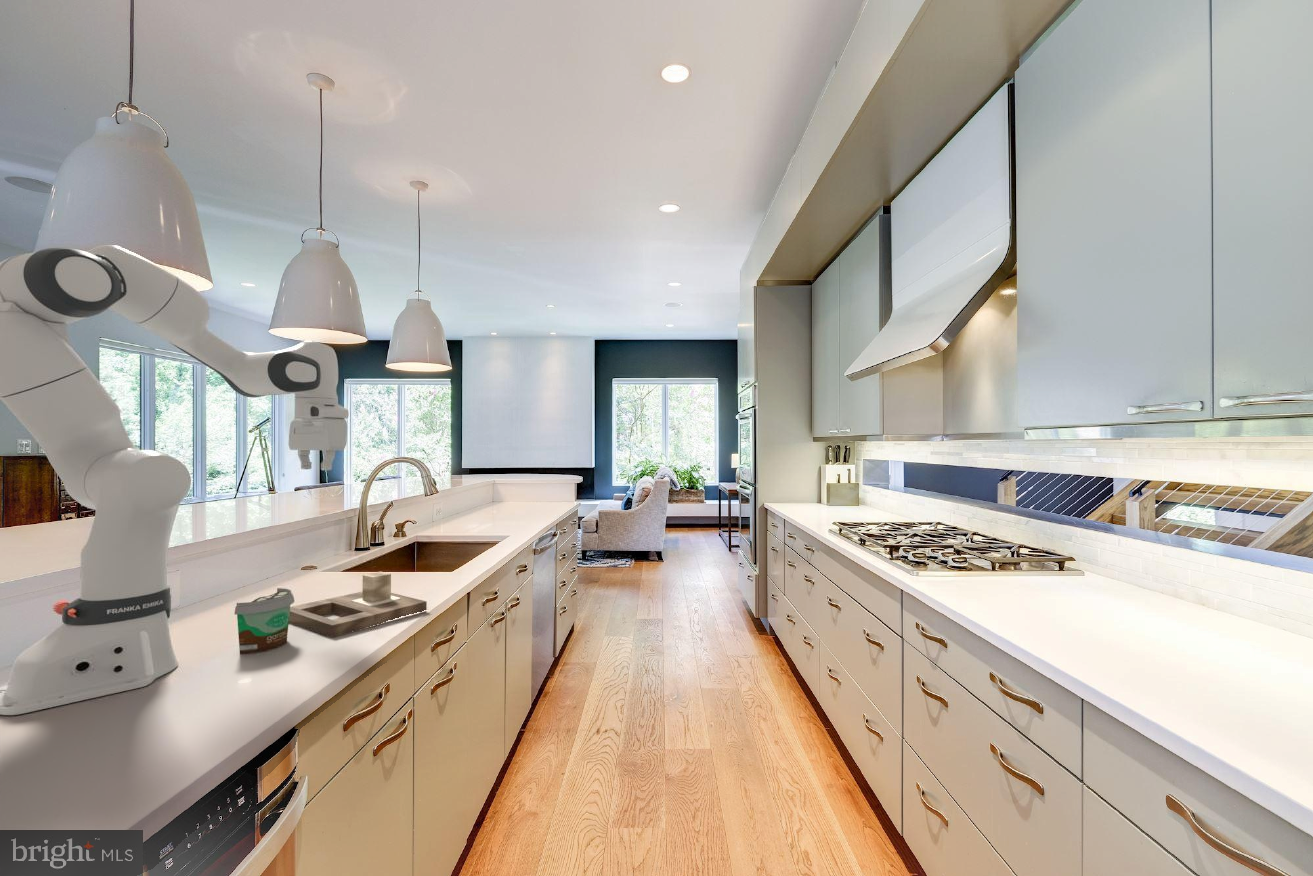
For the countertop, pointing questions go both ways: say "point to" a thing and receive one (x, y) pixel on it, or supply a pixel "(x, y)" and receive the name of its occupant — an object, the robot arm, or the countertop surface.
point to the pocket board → (352, 613)
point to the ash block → (376, 587)
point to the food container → (264, 622)
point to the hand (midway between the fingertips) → (316, 469)
